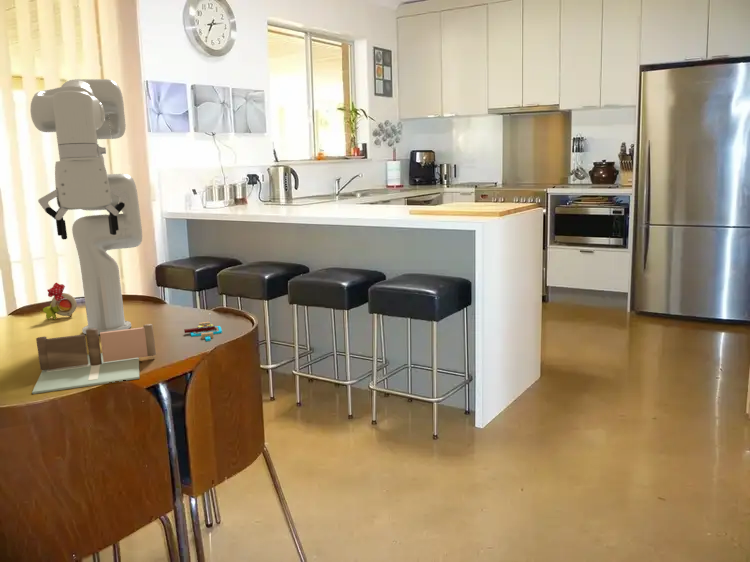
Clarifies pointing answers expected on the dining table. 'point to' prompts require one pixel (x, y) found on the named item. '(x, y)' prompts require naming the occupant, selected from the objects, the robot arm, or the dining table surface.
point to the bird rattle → (66, 304)
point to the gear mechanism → (205, 327)
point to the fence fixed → (69, 350)
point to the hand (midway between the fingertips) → (89, 236)
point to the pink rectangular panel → (128, 343)
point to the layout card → (87, 375)
